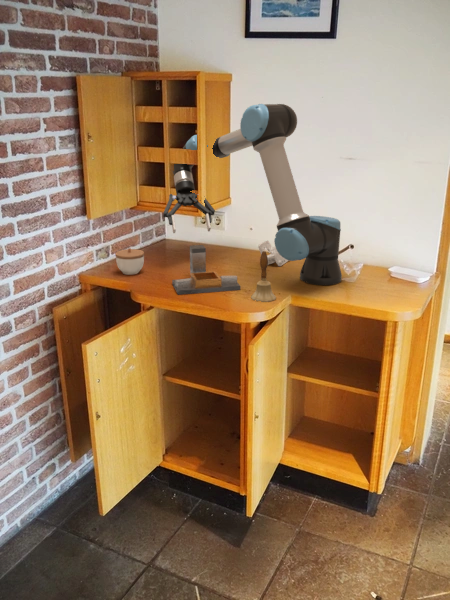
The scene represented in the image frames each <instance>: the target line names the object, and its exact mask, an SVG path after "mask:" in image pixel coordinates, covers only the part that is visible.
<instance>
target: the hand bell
mask: <svg viewBox="0 0 450 600" xmlns="http://www.w3.org/2000/svg"><path fill="white" fill-rule="evenodd" d="M267 255H268V254H267V252H266V251H263V252H262V254H261V253H260V258H259V265H260V269H261V278H260V280H258V282H257V283H256V288H255V291H254V292H253V293H252V295H251V297H250V298H251V300H252V301H255V300H256V301H255V302H258V301H261V302H260V303H267V302H268V303H269V302H272V301H275V300H276V299H277V297H276V295H275V294H274V293H273V291H272V286H271V282H270V281H268V280H267V269H268V266H269V265H268V258H267Z"/></svg>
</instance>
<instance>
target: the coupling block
mask: <svg viewBox="0 0 450 600" xmlns="http://www.w3.org/2000/svg"><path fill="white" fill-rule="evenodd" d="M206 258H207V250H206V247H205V245H204V244H195V245H189V271H190V275H191V273H200V272H207V259H206Z"/></svg>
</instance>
